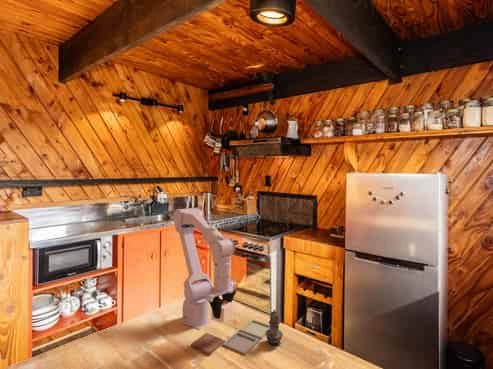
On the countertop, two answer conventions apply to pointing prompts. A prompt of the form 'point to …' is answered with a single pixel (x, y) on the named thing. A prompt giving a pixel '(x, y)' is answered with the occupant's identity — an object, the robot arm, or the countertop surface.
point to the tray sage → (255, 328)
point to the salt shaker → (274, 330)
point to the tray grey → (241, 342)
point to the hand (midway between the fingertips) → (221, 314)
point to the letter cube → (224, 312)
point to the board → (207, 343)
